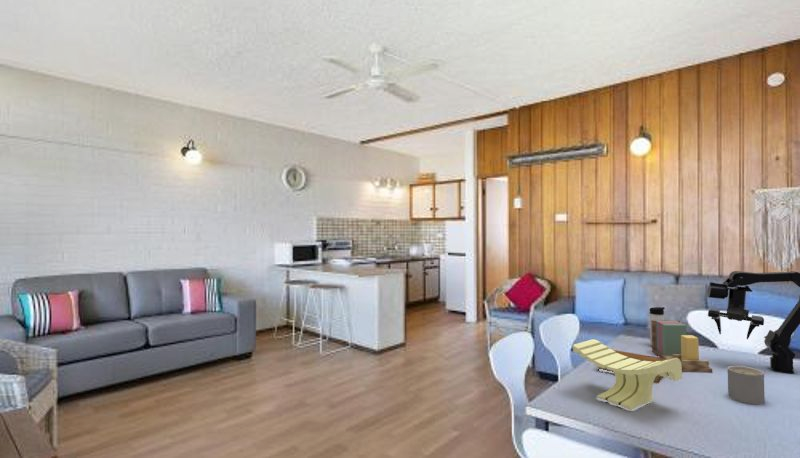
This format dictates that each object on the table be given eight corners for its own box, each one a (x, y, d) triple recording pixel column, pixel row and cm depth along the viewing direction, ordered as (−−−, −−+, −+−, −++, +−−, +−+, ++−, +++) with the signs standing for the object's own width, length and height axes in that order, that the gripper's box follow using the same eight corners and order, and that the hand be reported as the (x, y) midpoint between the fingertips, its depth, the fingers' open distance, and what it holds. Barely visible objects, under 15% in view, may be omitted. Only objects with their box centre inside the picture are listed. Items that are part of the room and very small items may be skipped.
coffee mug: (759, 406, 143) (758, 377, 143) (723, 397, 151) (723, 369, 151) (771, 396, 151) (770, 368, 151) (737, 388, 159) (736, 361, 159)
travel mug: (664, 349, 210) (663, 308, 210) (649, 347, 214) (648, 307, 214) (666, 346, 215) (665, 306, 214) (651, 344, 219) (650, 305, 218)
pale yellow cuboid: (692, 362, 184) (692, 335, 184) (699, 366, 179) (698, 338, 179) (681, 362, 185) (680, 335, 185) (687, 366, 180) (686, 338, 180)
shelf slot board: (679, 352, 204) (678, 320, 204) (712, 372, 176) (711, 335, 176) (652, 352, 206) (651, 320, 206) (680, 371, 178) (679, 334, 178)
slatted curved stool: (682, 408, 143) (681, 356, 143) (658, 421, 134) (657, 365, 134) (598, 382, 168) (597, 337, 168) (574, 392, 159) (572, 344, 159)
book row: (677, 350, 202) (676, 320, 202) (687, 356, 193) (686, 325, 193) (656, 349, 204) (656, 320, 204) (665, 355, 195) (664, 325, 195)
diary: (668, 372, 180) (668, 358, 180) (658, 385, 166) (658, 370, 166) (610, 361, 195) (610, 348, 195) (596, 371, 182) (596, 358, 182)
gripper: (708, 299, 182) (705, 335, 183) (765, 307, 170) (762, 345, 171) (710, 296, 191) (707, 330, 191) (765, 303, 179) (761, 340, 180)
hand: (733, 336), depth 183 cm, fingers open, 9 cm apart
